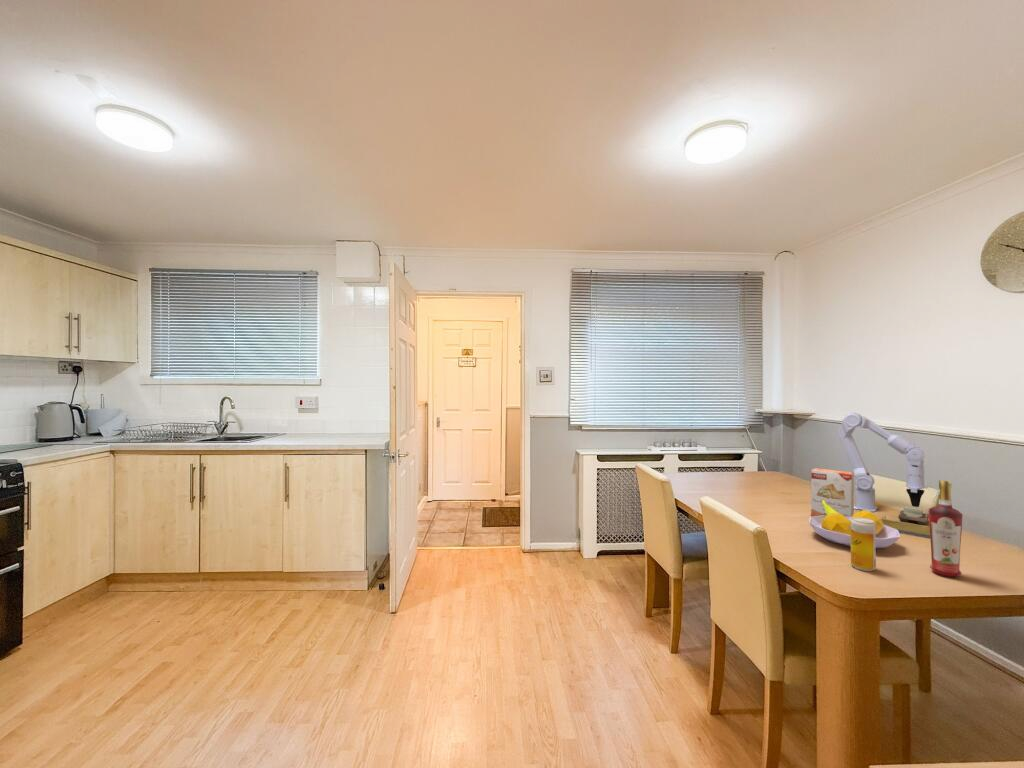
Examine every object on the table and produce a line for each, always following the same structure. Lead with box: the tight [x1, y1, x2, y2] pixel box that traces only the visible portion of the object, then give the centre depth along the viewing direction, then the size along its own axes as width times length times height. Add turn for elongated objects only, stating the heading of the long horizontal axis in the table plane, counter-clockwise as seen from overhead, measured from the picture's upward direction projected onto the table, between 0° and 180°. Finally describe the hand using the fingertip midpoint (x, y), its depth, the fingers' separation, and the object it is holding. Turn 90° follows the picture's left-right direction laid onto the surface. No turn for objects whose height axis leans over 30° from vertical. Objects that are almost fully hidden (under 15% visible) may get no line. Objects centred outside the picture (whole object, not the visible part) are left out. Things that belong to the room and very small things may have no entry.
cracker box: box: [810, 467, 855, 517], centre depth 185 cm, size 14×6×21 cm, turn 45°
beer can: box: [850, 518, 877, 572], centre depth 137 cm, size 6×6×15 cm
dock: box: [880, 514, 931, 540], centre depth 173 cm, size 16×18×4 cm
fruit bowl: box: [808, 500, 901, 549], centre depth 161 cm, size 28×27×11 cm
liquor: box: [928, 480, 963, 578], centre depth 132 cm, size 7×7×28 cm
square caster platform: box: [898, 506, 929, 526], centre depth 183 cm, size 10×9×5 cm
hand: (915, 506), depth 190 cm, fingers closed
